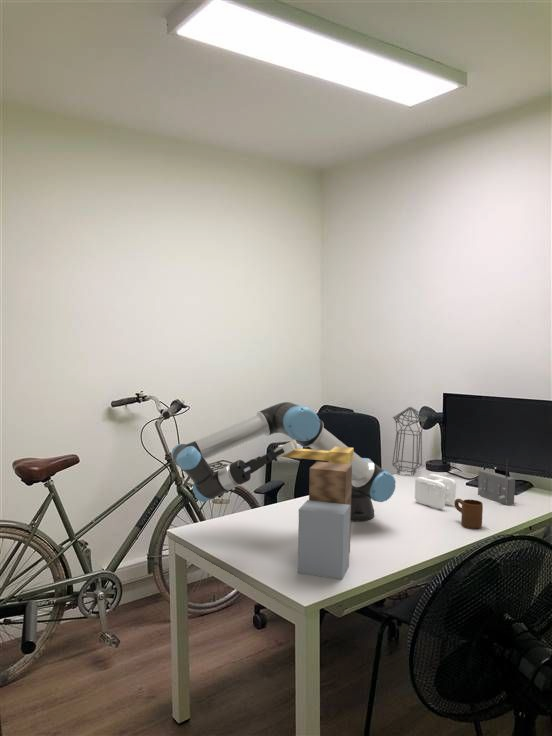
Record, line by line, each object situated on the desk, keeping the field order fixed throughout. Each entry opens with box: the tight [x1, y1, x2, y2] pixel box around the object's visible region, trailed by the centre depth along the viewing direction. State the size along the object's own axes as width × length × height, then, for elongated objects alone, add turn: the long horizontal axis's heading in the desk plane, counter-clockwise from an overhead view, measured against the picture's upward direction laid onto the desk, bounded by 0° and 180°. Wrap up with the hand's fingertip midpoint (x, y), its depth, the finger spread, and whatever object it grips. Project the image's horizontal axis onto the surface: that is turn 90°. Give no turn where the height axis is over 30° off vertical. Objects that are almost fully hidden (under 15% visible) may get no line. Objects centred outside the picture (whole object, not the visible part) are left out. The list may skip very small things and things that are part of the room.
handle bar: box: [275, 446, 355, 464], centre depth 183 cm, size 24×8×4 cm, turn 71°
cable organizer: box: [414, 473, 457, 510], centre depth 250 cm, size 15×11×12 cm
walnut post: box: [308, 460, 352, 554], centre depth 192 cm, size 12×10×30 cm
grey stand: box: [297, 499, 351, 580], centre depth 181 cm, size 14×10×20 cm
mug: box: [453, 498, 484, 530], centre depth 225 cm, size 12×8×9 cm, turn 34°
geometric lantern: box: [391, 406, 428, 476], centre depth 302 cm, size 16×16×35 cm
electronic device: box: [477, 458, 516, 506], centre depth 257 cm, size 17×7×20 cm, turn 27°
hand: (294, 444), depth 185 cm, fingers closed on handle bar, 3 cm apart
